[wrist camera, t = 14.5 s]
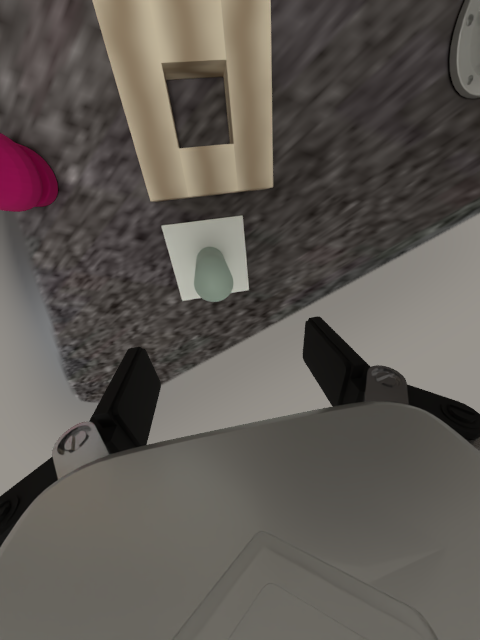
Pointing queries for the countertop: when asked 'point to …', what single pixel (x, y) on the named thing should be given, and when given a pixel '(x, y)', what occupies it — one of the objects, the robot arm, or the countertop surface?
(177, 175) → the wooden square frame
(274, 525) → the robot arm
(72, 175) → the countertop surface
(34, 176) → the pepper mill
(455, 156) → the countertop surface
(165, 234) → the mat
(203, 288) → the peg
